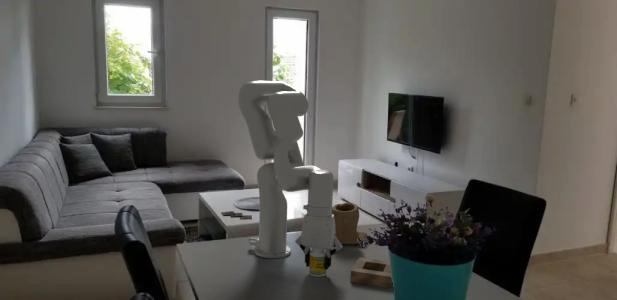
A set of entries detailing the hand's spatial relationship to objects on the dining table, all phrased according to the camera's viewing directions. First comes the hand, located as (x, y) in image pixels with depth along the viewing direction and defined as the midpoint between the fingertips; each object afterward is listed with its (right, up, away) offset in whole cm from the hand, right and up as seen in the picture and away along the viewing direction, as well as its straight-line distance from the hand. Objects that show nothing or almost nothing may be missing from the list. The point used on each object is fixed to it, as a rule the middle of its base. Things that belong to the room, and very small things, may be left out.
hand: (317, 266), depth 155 cm
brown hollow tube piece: (+12, +1, +30) cm, 32 cm away
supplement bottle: (0, -3, 0) cm, 3 cm away
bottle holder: (+17, -3, -1) cm, 18 cm away
